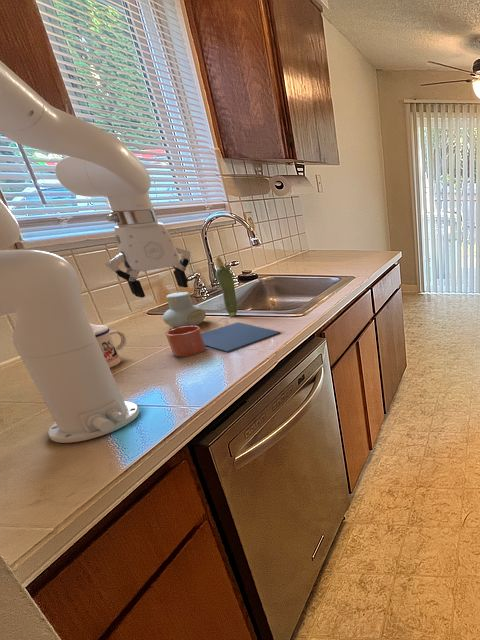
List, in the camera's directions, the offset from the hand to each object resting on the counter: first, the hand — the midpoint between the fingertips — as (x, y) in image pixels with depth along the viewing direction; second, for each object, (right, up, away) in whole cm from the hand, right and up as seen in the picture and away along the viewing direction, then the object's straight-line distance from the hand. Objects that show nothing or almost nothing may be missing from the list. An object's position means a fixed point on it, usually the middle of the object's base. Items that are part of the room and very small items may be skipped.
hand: (162, 291), depth 98 cm
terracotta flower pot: (+1, -15, +8) cm, 17 cm away
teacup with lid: (-15, -18, +1) cm, 24 cm away
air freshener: (-14, -6, +27) cm, 31 cm away
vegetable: (-4, -2, +36) cm, 36 cm away
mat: (+7, -10, +17) cm, 21 cm away
